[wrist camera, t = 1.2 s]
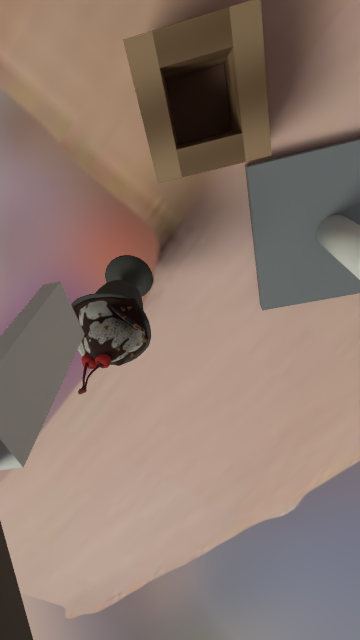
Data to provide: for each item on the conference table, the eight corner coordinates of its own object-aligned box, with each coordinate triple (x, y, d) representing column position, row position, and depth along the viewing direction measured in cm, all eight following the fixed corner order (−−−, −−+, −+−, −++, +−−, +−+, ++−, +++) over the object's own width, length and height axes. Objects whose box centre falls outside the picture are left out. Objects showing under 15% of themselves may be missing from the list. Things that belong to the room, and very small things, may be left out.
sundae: (104, 307, 35) (56, 412, 22) (91, 249, 32) (24, 333, 19) (163, 304, 35) (149, 409, 22) (156, 244, 31) (134, 327, 18)
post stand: (245, 165, 27) (267, 181, 20) (420, 123, 25) (522, 122, 18) (260, 304, 34) (281, 357, 27) (398, 280, 33) (464, 328, 25)
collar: (137, 58, 24) (123, 39, 19) (244, 25, 23) (260, -3, 18) (163, 172, 28) (157, 183, 23) (255, 149, 27) (271, 155, 22)
